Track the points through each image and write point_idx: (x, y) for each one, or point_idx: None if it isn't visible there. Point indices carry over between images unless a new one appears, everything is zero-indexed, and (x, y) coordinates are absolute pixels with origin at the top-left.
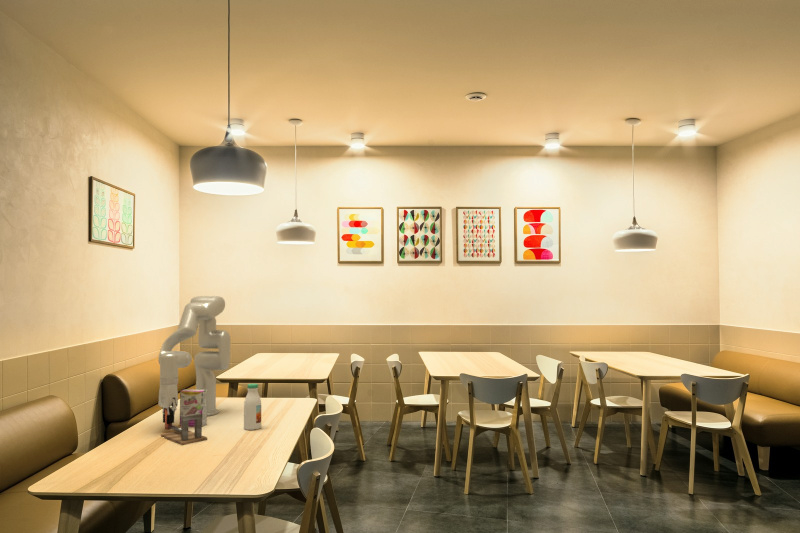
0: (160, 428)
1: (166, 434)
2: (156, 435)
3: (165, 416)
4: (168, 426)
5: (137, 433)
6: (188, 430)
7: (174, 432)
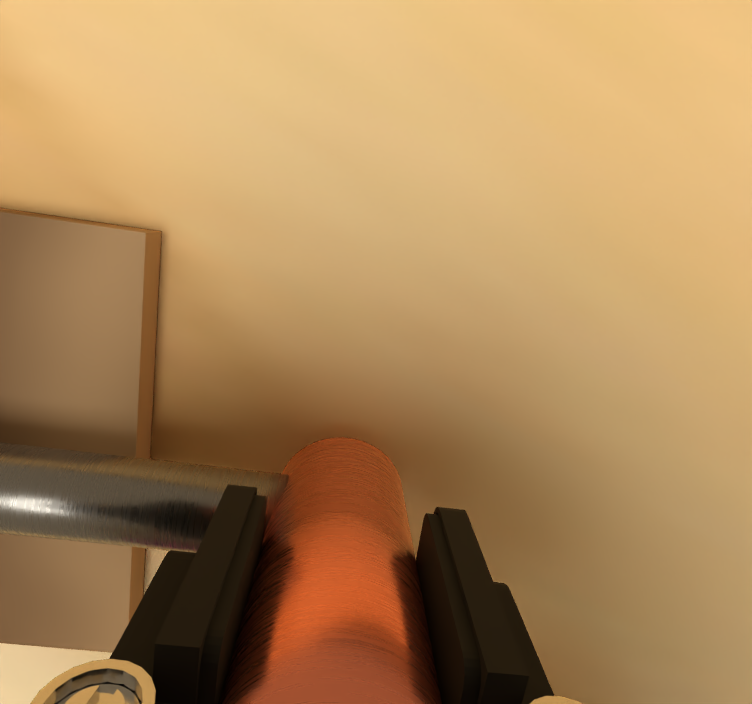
0: (661, 517)
1: (25, 278)
2: (297, 227)
3: (331, 611)
4: (252, 484)
5: (732, 102)
6: (8, 641)
7: (59, 444)
